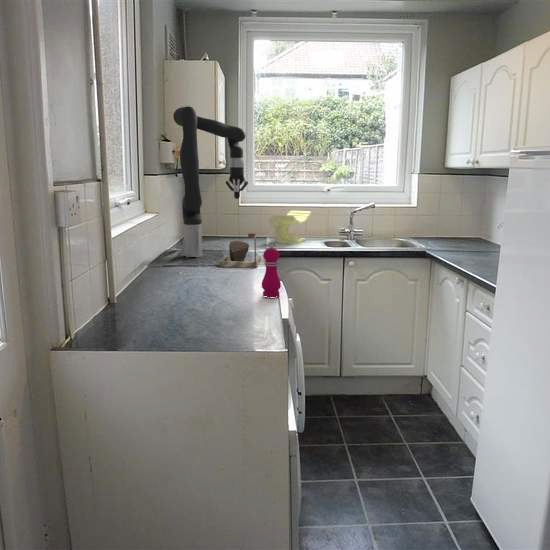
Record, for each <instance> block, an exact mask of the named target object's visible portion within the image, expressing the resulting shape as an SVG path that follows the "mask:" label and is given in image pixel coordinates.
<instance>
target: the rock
mask: <svg viewBox="0 0 550 550" xmlns="http://www.w3.org/2000/svg"><path fill="white" fill-rule="evenodd" d="M228 247H229V261H238V262H245V261H244V260H245V259H246V257H247V254H248V252H249V247H250V245H249V243H248V242H244V241H239V240H232V241H230V243H229V245H228Z"/></svg>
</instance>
